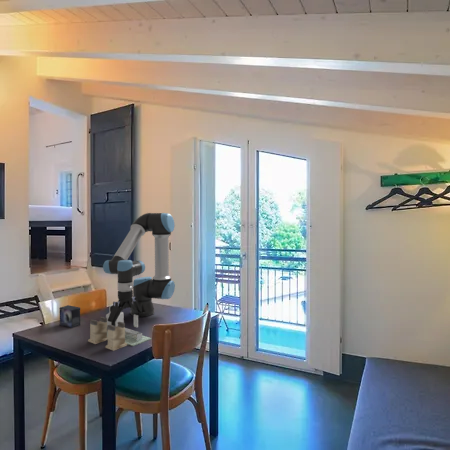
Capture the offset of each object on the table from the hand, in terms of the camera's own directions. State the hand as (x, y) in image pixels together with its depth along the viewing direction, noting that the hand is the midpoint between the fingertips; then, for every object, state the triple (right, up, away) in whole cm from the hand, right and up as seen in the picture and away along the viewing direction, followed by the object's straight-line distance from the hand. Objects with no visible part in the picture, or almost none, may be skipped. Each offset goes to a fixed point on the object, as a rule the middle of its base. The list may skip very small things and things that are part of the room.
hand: (125, 330), depth 183 cm
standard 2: (-1, -4, -13) cm, 14 cm away
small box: (-37, -3, +18) cm, 41 cm away
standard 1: (-12, -4, -5) cm, 14 cm away
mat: (0, -3, 0) cm, 3 cm away
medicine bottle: (-11, -3, +19) cm, 22 cm away
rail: (0, -3, 0) cm, 3 cm away
